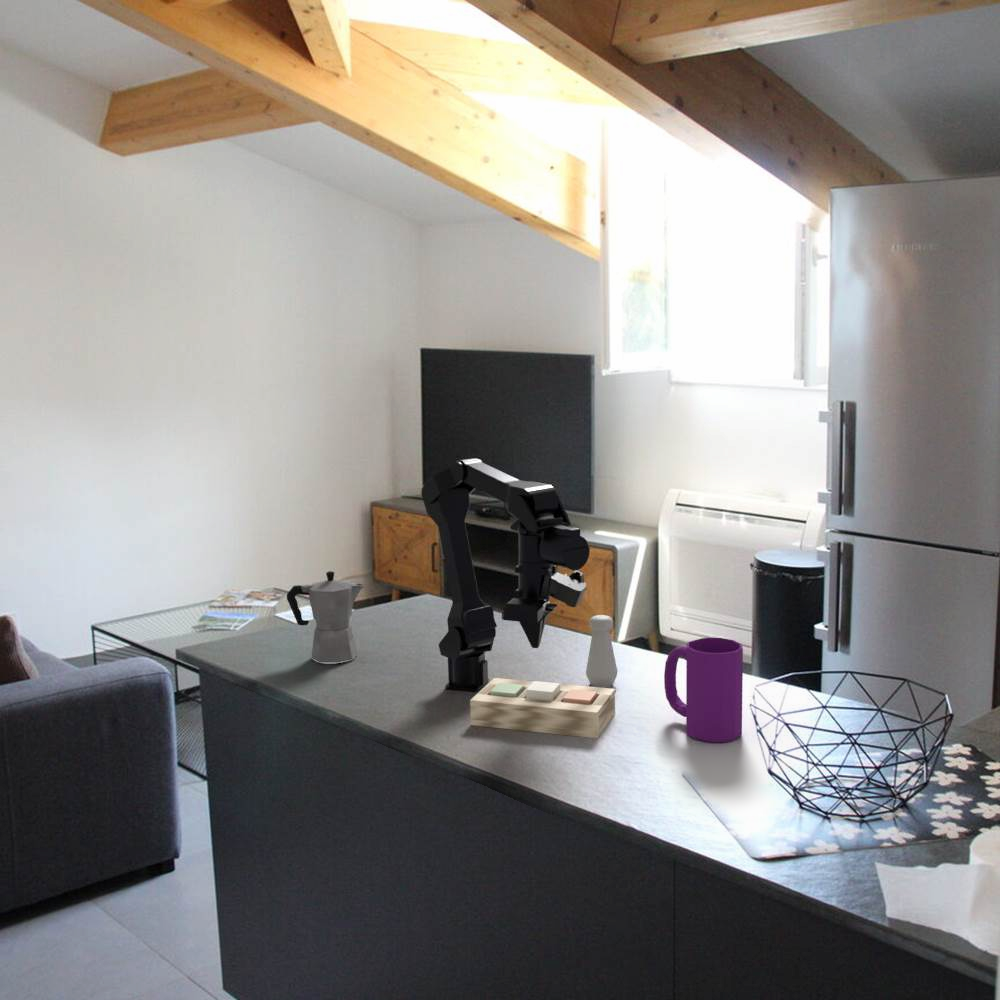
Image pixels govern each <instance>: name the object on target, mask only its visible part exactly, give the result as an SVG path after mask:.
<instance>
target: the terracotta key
mask: <svg viewBox="0 0 1000 1000" xmlns="http://www.w3.org/2000/svg"><path fill="white" fill-rule="evenodd" d="M596 699H597V692H596V691H585V690H574V689H571V690H570V691H569V692H568V693H567V694H566V695H565V697H564V698H563V702H568V703H579V704H589V705H592V704H593V702H594V701H595V700H596Z"/></svg>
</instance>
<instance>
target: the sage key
mask: <svg viewBox="0 0 1000 1000" xmlns="http://www.w3.org/2000/svg"><path fill="white" fill-rule="evenodd" d="M523 691H524V685H519V684H508V683H498V684H497V685H496V686H495V687H494V688H493V689H492V690H491V691H490V695H495V696H506V697H516V698H517V697H518V696H519V695H520V694H521V693H522V692H523Z"/></svg>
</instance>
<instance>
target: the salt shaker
mask: <svg viewBox="0 0 1000 1000" xmlns="http://www.w3.org/2000/svg"><path fill="white" fill-rule="evenodd" d="M589 628H590V630H592V634H591V641H590V645H589V651H588V657H587V662H586V663H587V664H586V670H585V676H586V677H587V680H588V682H589V685H590V686H591V687H600V688H612V687H613V686H614V684H615V681H616V678H617V676H618V666H617V662H616V657H615V653H614V647H613V643H612V637H611V633H610V631H611V630H613V628H614V620H613V618H612V617H610V615H606V614H597V615H594V616H592V617H591V618H590V619H589Z"/></svg>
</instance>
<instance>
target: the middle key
mask: <svg viewBox="0 0 1000 1000" xmlns="http://www.w3.org/2000/svg"><path fill="white" fill-rule="evenodd" d="M560 684H561V683H559V682H558V683H557V682H549V681H537V680H534V682H533V683H532V684H531V685H530V686H529V687H528V688H527V689H526V698H527V699H537V700H548V701H554V700H555V699H556V698H557V697H558V696H559V695H560Z"/></svg>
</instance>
